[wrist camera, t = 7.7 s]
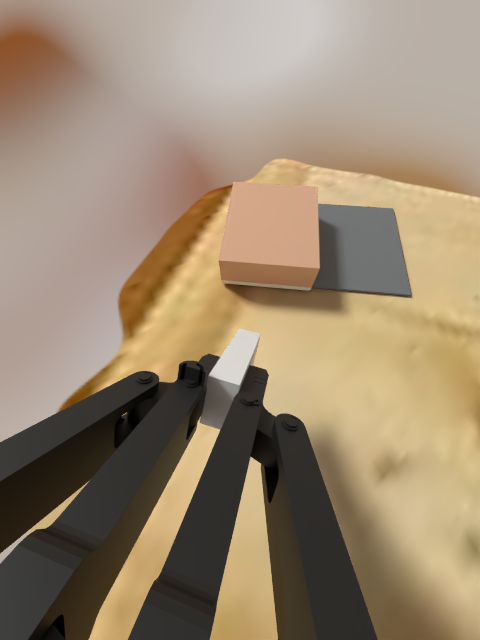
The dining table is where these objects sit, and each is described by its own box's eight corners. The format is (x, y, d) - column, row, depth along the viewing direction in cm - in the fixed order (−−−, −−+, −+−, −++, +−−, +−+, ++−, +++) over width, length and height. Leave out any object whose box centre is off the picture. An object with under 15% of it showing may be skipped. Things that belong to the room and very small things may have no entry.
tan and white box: (319, 268, 25) (317, 186, 30) (218, 260, 26) (233, 181, 31) (310, 290, 29) (309, 214, 34) (221, 283, 29) (234, 209, 34)
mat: (409, 296, 28) (411, 294, 28) (231, 281, 30) (231, 279, 29) (392, 210, 34) (393, 208, 34) (243, 200, 36) (243, 198, 35)
